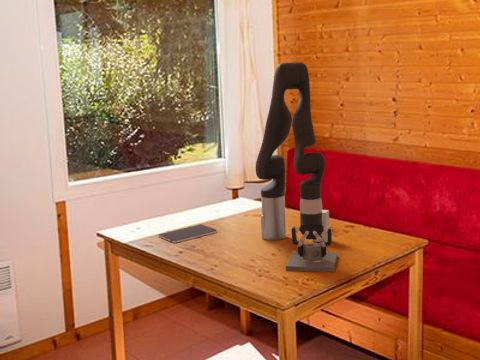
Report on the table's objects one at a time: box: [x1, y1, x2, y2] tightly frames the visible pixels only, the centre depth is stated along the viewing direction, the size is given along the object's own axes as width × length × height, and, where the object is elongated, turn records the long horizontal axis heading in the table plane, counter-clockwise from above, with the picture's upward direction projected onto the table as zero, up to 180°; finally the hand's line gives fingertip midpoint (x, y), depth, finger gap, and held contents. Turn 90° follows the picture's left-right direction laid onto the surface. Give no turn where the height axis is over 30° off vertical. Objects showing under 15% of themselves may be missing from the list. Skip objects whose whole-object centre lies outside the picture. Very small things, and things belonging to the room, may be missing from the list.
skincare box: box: [311, 209, 330, 243], centre depth 234 cm, size 6×4×12 cm
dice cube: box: [302, 241, 322, 262], centre depth 210 cm, size 5×5×5 cm
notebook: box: [158, 224, 217, 244], centre depth 253 cm, size 13×2×21 cm
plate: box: [285, 250, 339, 273], centre depth 210 cm, size 16×16×2 cm
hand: (312, 256), depth 210 cm, fingers closed on dice cube, 7 cm apart
